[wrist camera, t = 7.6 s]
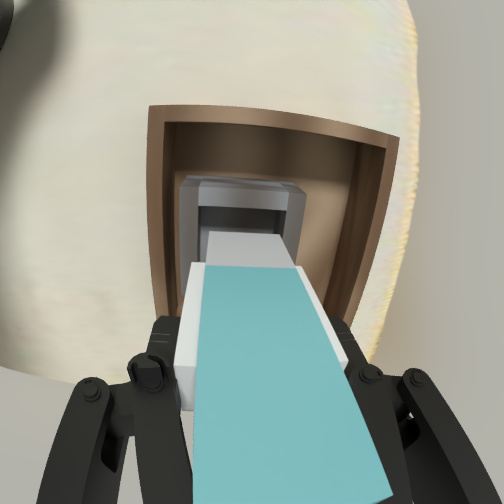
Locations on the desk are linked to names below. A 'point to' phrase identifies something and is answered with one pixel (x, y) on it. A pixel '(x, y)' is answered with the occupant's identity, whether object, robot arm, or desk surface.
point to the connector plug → (272, 389)
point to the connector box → (266, 194)
